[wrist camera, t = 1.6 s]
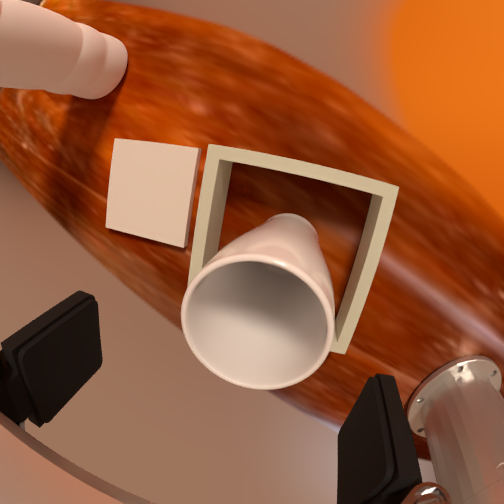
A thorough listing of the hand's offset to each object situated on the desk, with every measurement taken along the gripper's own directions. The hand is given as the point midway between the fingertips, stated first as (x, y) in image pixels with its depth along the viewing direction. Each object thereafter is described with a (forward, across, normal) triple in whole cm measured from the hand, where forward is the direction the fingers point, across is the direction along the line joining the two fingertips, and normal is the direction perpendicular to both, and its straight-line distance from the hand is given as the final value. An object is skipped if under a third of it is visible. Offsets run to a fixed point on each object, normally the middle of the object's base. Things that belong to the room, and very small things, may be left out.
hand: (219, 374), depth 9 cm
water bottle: (+19, +21, -14) cm, 32 cm away
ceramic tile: (+19, +13, -2) cm, 23 cm away
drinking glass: (+19, -1, 0) cm, 19 cm away
